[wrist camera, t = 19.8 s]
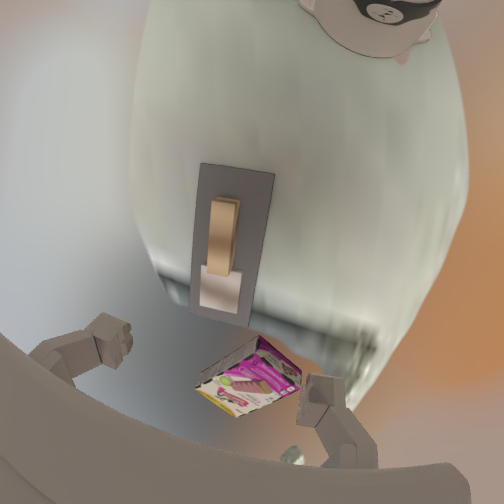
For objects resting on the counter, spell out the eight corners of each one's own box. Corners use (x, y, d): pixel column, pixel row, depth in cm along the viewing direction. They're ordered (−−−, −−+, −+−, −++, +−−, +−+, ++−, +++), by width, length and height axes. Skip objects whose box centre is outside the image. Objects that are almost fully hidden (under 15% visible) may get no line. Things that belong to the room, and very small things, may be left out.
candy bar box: (301, 390, 41) (236, 419, 47) (303, 369, 46) (241, 401, 52) (253, 353, 40) (192, 389, 46) (258, 333, 44) (200, 371, 50)
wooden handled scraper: (208, 195, 37) (200, 199, 34) (251, 201, 36) (247, 206, 34) (201, 302, 43) (195, 312, 41) (238, 310, 43) (233, 321, 40)
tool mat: (202, 163, 36) (200, 163, 36) (274, 174, 35) (274, 174, 34) (190, 310, 45) (189, 312, 45) (248, 325, 44) (247, 327, 44)
